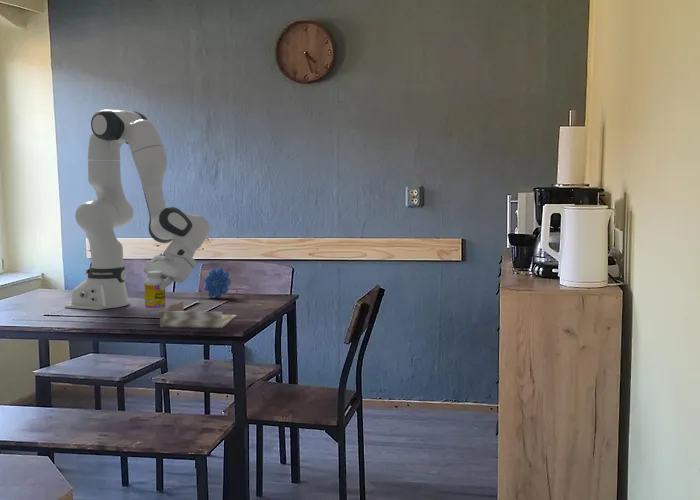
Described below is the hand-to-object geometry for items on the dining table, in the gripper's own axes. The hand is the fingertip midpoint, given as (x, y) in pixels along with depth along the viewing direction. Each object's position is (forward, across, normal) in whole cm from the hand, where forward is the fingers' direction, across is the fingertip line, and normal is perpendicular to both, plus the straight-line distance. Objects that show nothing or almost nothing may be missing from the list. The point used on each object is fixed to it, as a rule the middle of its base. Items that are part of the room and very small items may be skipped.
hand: (153, 287), depth 242 cm
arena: (+2, +16, +12) cm, 20 cm away
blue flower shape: (-19, -13, +34) cm, 41 cm away
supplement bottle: (+5, 0, +6) cm, 8 cm away
